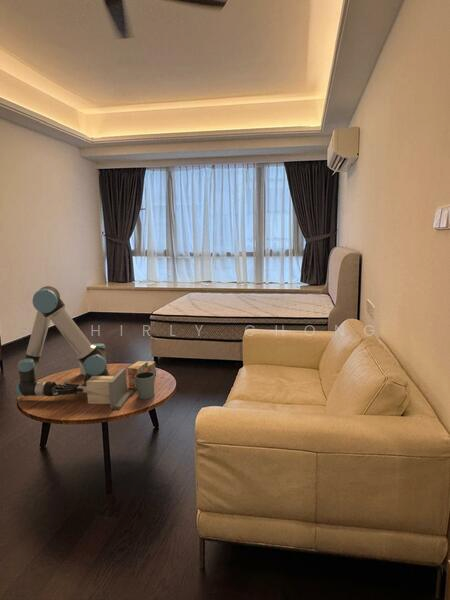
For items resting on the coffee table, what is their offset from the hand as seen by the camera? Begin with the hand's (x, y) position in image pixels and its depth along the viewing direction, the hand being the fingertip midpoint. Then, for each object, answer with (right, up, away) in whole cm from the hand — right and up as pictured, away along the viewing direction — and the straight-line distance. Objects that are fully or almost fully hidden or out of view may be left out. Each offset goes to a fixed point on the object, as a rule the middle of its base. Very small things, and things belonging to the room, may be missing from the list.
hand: (89, 389), depth 202 cm
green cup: (+28, -5, +5) cm, 29 cm away
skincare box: (-16, 0, +41) cm, 44 cm away
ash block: (+7, -6, +1) cm, 10 cm away
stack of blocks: (+22, -2, +26) cm, 34 cm away
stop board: (+17, -6, 0) cm, 18 cm away
